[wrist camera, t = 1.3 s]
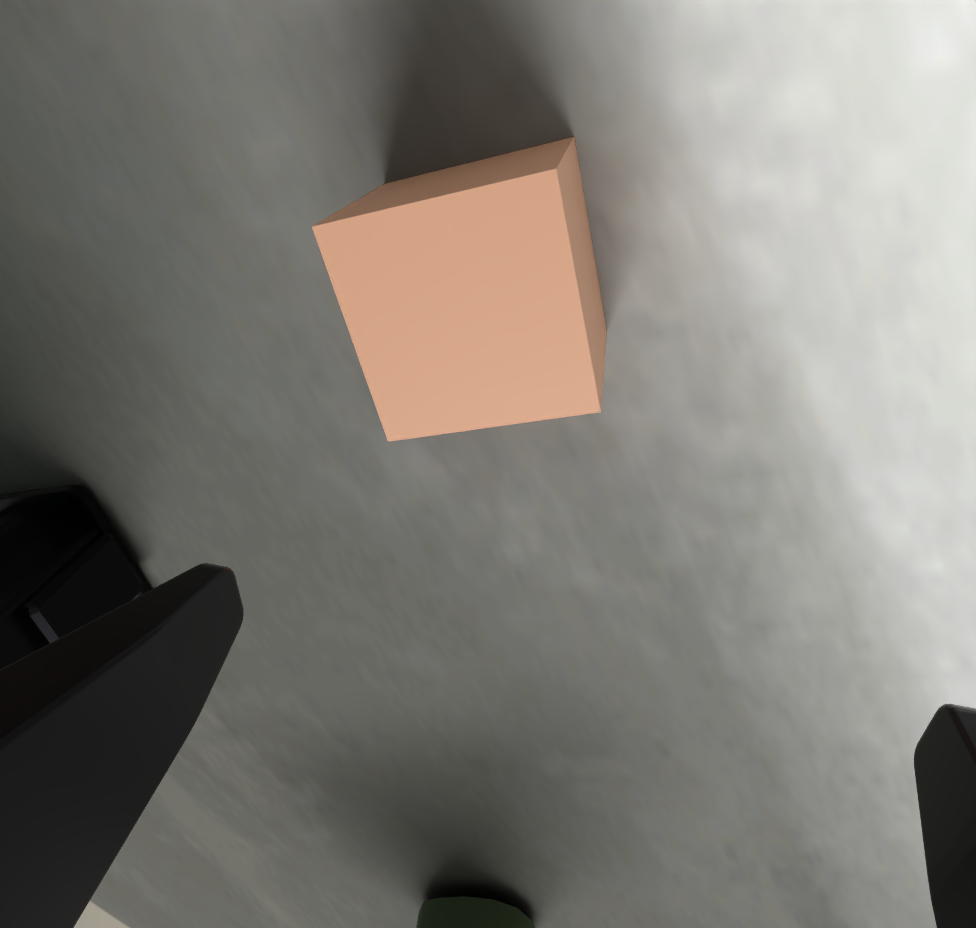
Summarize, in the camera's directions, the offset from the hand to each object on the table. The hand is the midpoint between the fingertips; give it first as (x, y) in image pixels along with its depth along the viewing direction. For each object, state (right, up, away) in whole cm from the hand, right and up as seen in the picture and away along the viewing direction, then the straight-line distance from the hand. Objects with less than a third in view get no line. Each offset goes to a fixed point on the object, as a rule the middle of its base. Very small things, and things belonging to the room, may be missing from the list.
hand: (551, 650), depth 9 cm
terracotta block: (0, +8, +10) cm, 13 cm away
